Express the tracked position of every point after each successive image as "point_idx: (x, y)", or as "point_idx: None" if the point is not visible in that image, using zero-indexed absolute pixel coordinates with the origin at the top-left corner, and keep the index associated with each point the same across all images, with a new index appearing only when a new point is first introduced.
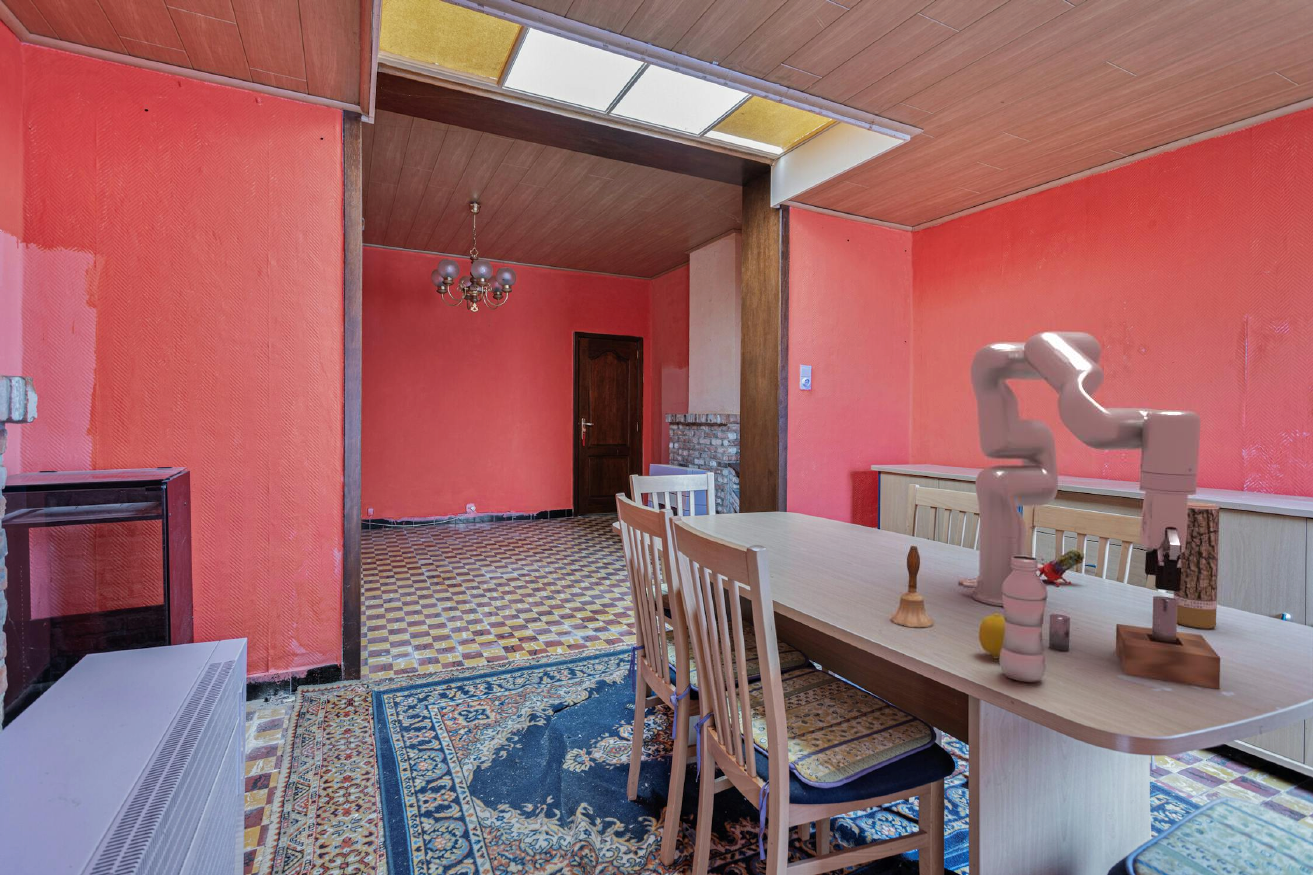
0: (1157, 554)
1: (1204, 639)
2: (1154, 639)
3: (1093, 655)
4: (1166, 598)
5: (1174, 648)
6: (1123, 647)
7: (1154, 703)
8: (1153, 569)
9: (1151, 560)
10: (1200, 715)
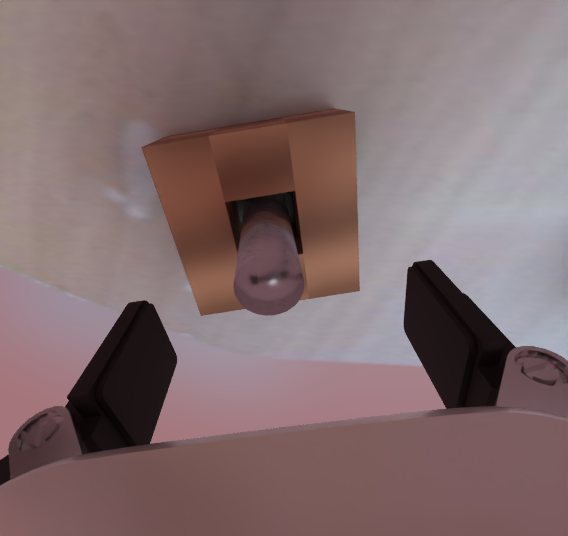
0: (459, 384)
1: (324, 295)
2: (251, 209)
3: (257, 54)
4: (278, 289)
5: (201, 248)
6: (195, 136)
7: (26, 193)
8: (416, 304)
9: (442, 329)
10: (42, 256)
